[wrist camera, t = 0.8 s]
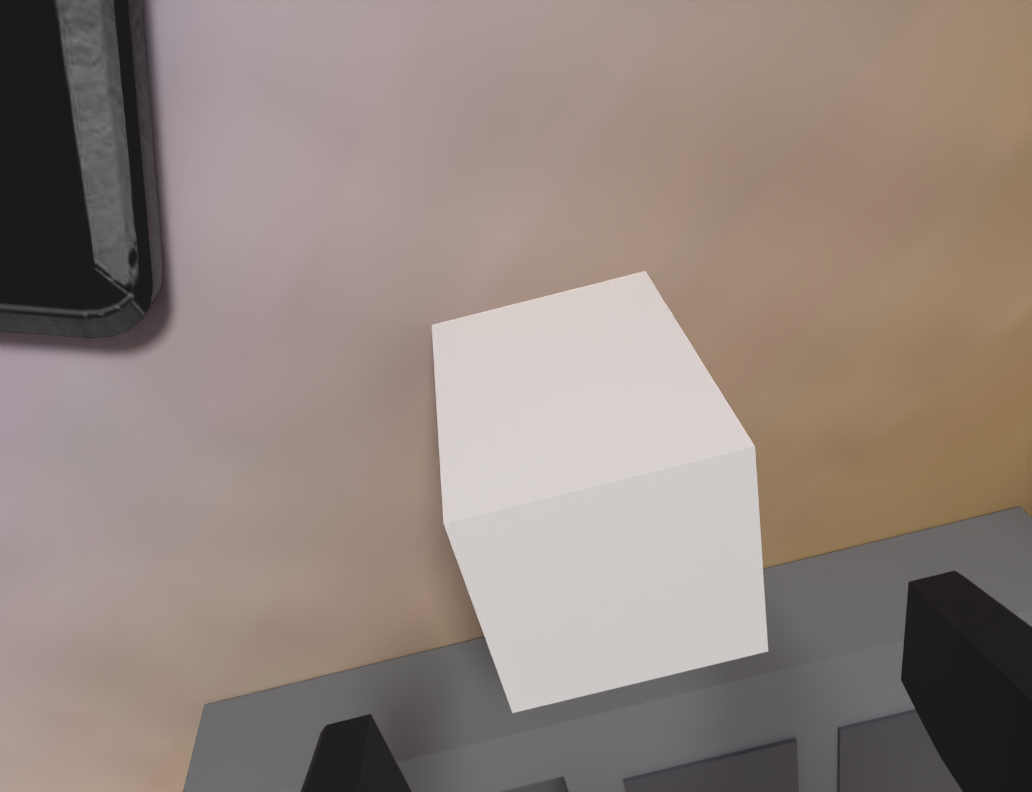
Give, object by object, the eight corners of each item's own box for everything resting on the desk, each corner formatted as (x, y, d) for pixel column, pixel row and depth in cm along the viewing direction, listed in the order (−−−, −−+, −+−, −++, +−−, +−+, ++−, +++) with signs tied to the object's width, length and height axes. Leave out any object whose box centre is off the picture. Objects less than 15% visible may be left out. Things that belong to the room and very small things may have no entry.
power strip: (1020, 506, 21) (1108, 595, 18) (980, 730, 26) (1044, 823, 24) (204, 705, 21) (175, 819, 19) (332, 885, 27) (324, 993, 24)
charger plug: (644, 270, 16) (755, 446, 11) (668, 442, 18) (768, 651, 13) (431, 324, 16) (443, 523, 11) (483, 487, 18) (512, 713, 13)
